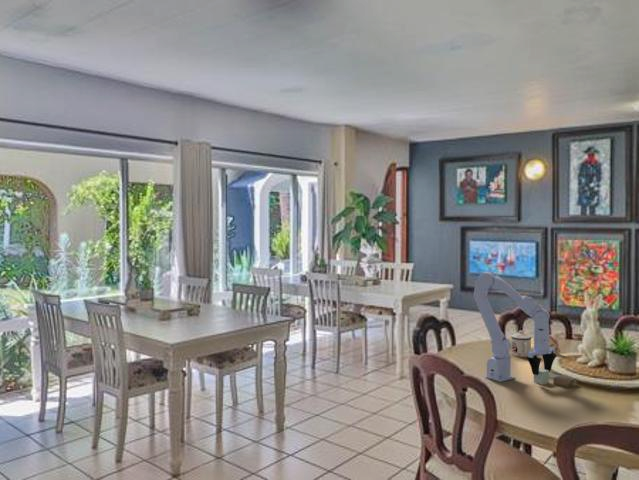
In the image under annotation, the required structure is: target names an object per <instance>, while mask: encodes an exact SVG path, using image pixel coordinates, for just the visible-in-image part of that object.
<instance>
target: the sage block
mask: <svg viewBox="0 0 639 480" xmlns="http://www.w3.org/2000/svg"><path fill="white" fill-rule="evenodd" d="M549 375H550V372H549V370H545V369H544V368H540V367H539V374H538V375H535V374H533V383H536V384H540V385H546V384H549V383H550V378H549Z"/></svg>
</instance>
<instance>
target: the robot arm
mask: <svg viewBox="0 0 639 480" xmlns="http://www.w3.org/2000/svg"><path fill="white" fill-rule="evenodd" d="M491 288H492V289H493V290H499V291H501V292H503V293H504V294H506V295H507V296H508V297H509V298H511V299H513V300H514V301H515V302H516V306H517V307H518V308H519V309H520V310H521V311H523V312H524V313H525V314H526V315H527V316H529V317H531V318H532V320H533V322H534V323H533V324H534V325H533V349H531V351H530V352H528V356H527V357H526V360H527V361H528V363H529V365H530V369H531V372H532V374H533V375H534V374H535V375H538V374H539V368H540V365H541V361H542V360H543V366H544V367H543V369H545V370H549V373H550V372H551V371H552V368H553V367H552V366H553V363H554V361H555V360H556V358H557V356H556V354H554V353H555V348H553V347H549V335H550V323H549V321H550V316H551V315H550V312H549V310H548V309H547V308H546V307H543V305H541V304H538V303H537V302H536V301H535V300H533V297H532V296H528V295H522V294H520V292H518V291H517V290H516V289H515V288H514V287H512V285H510V284H509V283H508V282H507V281H506V280H504V279H503V278H502V277H501V276H499V275H496V274H495V273H494V272H493V271H490V270H487V271H484V272H482V273H481V274H479V275H478V276H477V278H476V280H475V281H474V290H473V299H474V301H475V303H476V306H477V308H478V311H479V313H480V315H481V317H482V320H483V322H484V325H485V327H486V329H487V332H488V334H489V337H490V338H489V339H490V344H491V352H492V356H491V358H489V359H487V362H486V375H484V377H485V378H487V379H489V380H492V381H496V382H499V383H501V382H505V381H509V380H513V379H516V376H513V375H512V373H511V371H512V368H511V367H512V364H511V362H512V360H511V359H512V358H511V357H512V354H510V351H511V350H512V343H511V342H510V340H508V339H507V337H506V336H505V334H504V332H503V331H502V330H501V327H500V325H499V323H498V322H499V321H498V320H497V318H496V314H495V312H494V310H493V307H492V306H491V303H490V300H489V299H488V293H489V292H490V289H491ZM539 356H542V358H543V359H542V358H540V357H539Z"/></svg>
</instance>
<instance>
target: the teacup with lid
mask: <svg viewBox="0 0 639 480" xmlns="http://www.w3.org/2000/svg"><path fill="white" fill-rule="evenodd" d="M510 338H511V356H515V357H516V358H517V357H520V358H527V356H528V352H530V351H531V350H532V336H531V335H530V334H528V333H525V332H524V330H518V332H516V333H513V334H512V335H511V336H510Z"/></svg>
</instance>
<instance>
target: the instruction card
mask: <svg viewBox="0 0 639 480" xmlns="http://www.w3.org/2000/svg"><path fill="white" fill-rule="evenodd" d="M557 376H560V374H555V373H551V374H549V379H551V380H552V379H553V377H557Z"/></svg>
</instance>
